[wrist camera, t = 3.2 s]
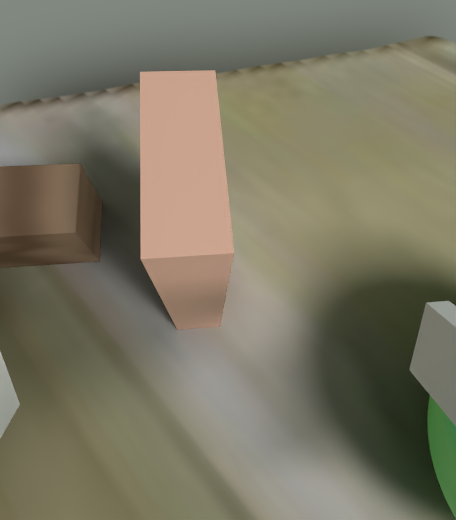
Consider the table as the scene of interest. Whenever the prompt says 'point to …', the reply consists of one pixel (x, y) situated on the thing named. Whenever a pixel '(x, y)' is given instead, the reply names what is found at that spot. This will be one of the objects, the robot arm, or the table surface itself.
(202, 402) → the table surface
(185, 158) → the tall pink slab box
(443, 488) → the toy bird
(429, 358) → the robot arm
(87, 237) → the walnut crossbar
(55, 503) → the table surface
